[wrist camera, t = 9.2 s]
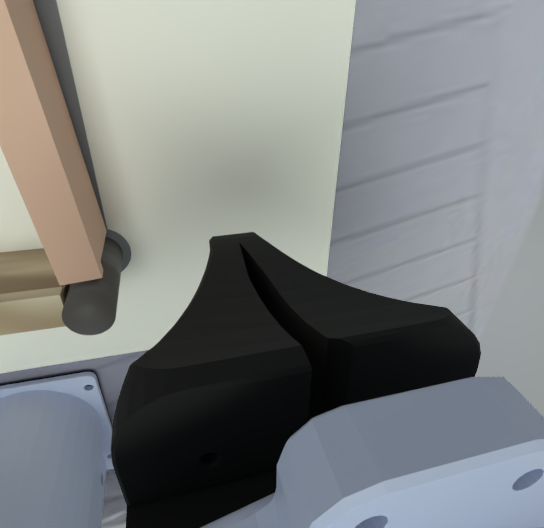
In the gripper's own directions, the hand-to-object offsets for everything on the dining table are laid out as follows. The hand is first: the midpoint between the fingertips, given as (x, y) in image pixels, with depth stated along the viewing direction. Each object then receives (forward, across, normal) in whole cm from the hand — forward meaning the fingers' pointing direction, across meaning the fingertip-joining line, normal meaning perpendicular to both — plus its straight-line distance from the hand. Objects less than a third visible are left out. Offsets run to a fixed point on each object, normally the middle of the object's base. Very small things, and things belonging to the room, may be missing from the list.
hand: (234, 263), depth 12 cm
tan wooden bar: (+9, +6, -4) cm, 11 cm away
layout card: (+9, +4, +1) cm, 10 cm away
